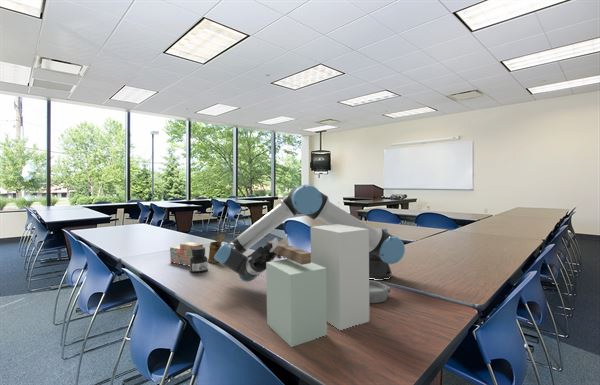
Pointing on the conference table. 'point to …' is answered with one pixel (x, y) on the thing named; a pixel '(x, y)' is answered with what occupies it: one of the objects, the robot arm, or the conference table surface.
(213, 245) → the brown burlap sack
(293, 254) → the walnut bar
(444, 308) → the conference table surface
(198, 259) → the ink bottle
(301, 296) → the low stand
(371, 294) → the dish
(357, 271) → the off-white rectangular block
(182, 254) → the stack of blocks
